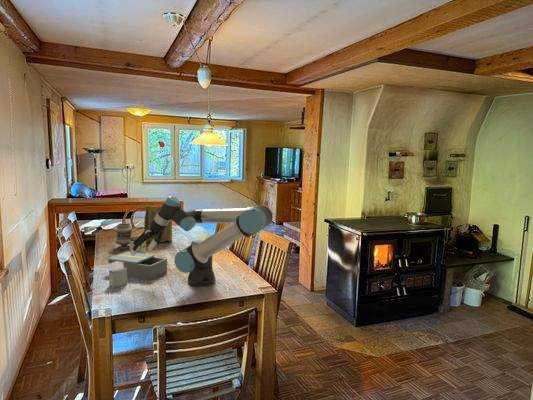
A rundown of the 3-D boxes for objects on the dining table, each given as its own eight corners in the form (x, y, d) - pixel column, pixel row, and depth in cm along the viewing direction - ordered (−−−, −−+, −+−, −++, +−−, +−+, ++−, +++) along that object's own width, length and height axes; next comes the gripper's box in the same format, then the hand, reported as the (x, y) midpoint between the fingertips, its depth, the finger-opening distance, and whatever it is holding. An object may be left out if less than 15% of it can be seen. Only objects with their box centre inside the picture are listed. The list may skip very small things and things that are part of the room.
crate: (166, 271, 214) (166, 258, 213) (150, 280, 198) (150, 266, 197) (141, 268, 219) (141, 255, 218) (123, 276, 203) (123, 262, 203)
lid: (154, 259, 216) (154, 254, 215) (137, 267, 200) (137, 262, 200) (126, 256, 221) (126, 251, 221) (107, 263, 206) (107, 258, 205)
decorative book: (166, 239, 297) (166, 203, 294) (173, 241, 289) (173, 205, 286) (143, 242, 283) (143, 205, 279) (150, 245, 275) (150, 206, 272)
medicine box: (123, 282, 194) (122, 266, 193) (127, 284, 191) (127, 268, 190) (108, 285, 187) (108, 269, 186) (113, 288, 185) (113, 271, 184)
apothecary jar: (113, 247, 265) (112, 223, 263) (129, 245, 273) (129, 222, 271) (118, 250, 256) (118, 226, 254) (135, 248, 264) (135, 224, 262)
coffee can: (131, 256, 243) (131, 236, 242) (147, 256, 245) (147, 236, 244) (128, 260, 233) (128, 239, 232) (144, 260, 235) (144, 239, 233)
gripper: (169, 215, 199) (151, 243, 205) (139, 219, 176) (119, 251, 182) (179, 223, 198) (160, 252, 203) (149, 229, 174) (128, 261, 180)
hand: (140, 252), depth 192 cm, fingers open, 13 cm apart
